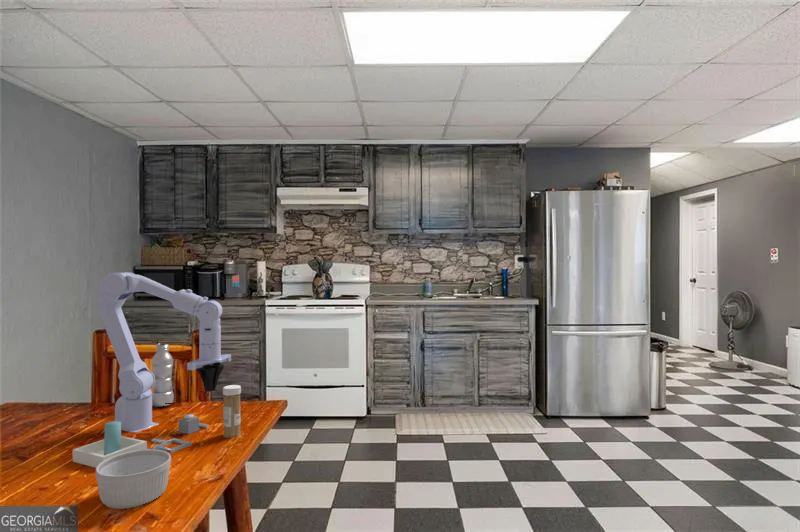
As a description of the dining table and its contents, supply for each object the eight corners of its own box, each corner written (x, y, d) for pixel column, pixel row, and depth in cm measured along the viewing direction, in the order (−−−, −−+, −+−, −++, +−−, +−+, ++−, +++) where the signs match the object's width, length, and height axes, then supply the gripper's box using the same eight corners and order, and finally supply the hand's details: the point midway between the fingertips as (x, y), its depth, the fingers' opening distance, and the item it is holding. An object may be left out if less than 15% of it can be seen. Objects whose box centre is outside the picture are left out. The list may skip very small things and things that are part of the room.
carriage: (178, 432, 134) (178, 416, 134) (189, 428, 137) (189, 412, 137) (188, 434, 132) (188, 418, 132) (199, 430, 135) (199, 414, 135)
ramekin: (118, 520, 89) (118, 481, 89) (81, 501, 96) (81, 465, 96) (184, 491, 100) (184, 457, 100) (147, 476, 107) (147, 444, 107)
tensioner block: (122, 463, 114) (122, 452, 114) (173, 442, 127) (173, 433, 127) (141, 467, 112) (141, 457, 112) (191, 446, 125) (191, 437, 125)
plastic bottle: (178, 404, 162) (178, 343, 162) (162, 410, 156) (162, 346, 156) (162, 402, 164) (162, 342, 164) (146, 408, 158) (146, 345, 158)
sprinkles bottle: (243, 437, 131) (243, 386, 131) (225, 440, 129) (225, 389, 129) (238, 432, 135) (238, 383, 135) (221, 435, 133) (221, 385, 133)
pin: (100, 456, 117) (101, 424, 117) (112, 451, 120) (113, 420, 120) (112, 457, 116) (113, 425, 116) (123, 452, 119) (124, 421, 119)
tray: (72, 461, 115) (72, 449, 115) (117, 445, 125) (116, 434, 125) (103, 469, 111) (103, 457, 111) (146, 452, 121) (146, 441, 121)
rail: (151, 443, 127) (151, 439, 127) (196, 426, 140) (196, 422, 140) (164, 446, 125) (164, 441, 125) (208, 429, 138) (208, 424, 138)
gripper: (200, 348, 133) (200, 398, 133) (239, 340, 146) (239, 386, 146) (181, 346, 136) (181, 395, 136) (221, 338, 149) (221, 383, 149)
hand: (210, 390), depth 141 cm, fingers closed
